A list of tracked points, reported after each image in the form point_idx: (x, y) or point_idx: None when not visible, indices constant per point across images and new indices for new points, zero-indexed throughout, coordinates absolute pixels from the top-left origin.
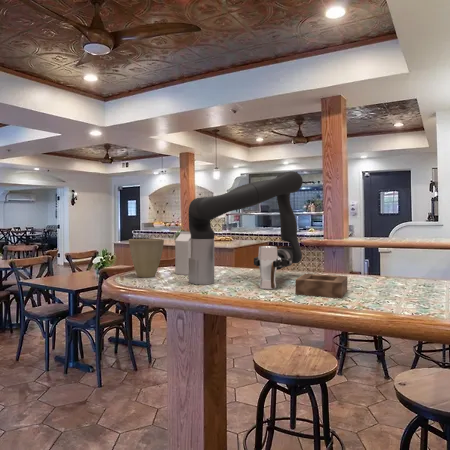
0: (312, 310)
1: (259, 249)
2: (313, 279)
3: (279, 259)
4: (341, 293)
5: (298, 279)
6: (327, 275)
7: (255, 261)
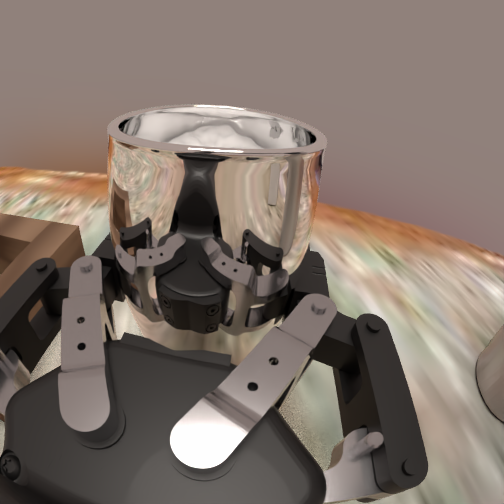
0: (105, 177)
1: (296, 144)
2: (14, 236)
3: (88, 286)
4: None
5: (66, 228)
6: None
7: (313, 254)
